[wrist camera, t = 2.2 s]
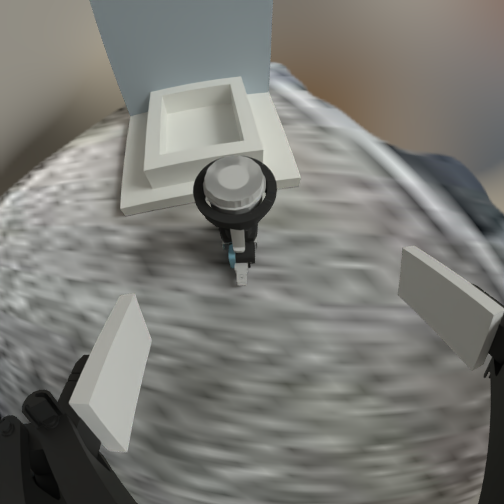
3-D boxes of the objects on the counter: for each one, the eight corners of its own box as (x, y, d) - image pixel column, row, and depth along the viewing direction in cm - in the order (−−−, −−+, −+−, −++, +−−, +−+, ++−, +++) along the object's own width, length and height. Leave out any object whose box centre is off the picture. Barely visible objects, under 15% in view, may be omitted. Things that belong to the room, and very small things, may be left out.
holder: (125, 216, 28) (17, 35, 8) (134, 117, 34) (88, -21, 14) (298, 186, 29) (339, -28, 9) (265, 94, 35) (270, -53, 15)
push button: (272, 286, 25) (284, 234, 16) (210, 288, 25) (185, 238, 16) (267, 217, 27) (274, 144, 18) (211, 220, 27) (193, 148, 18)
